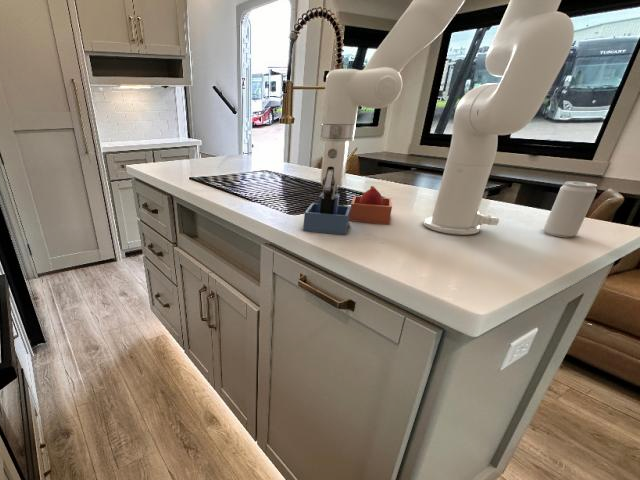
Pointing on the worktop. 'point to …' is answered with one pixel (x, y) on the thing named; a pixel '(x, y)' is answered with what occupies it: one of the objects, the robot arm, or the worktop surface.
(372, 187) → the onion
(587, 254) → the worktop surface
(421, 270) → the worktop surface
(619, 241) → the worktop surface
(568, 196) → the beverage can
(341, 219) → the blue bin
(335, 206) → the blue block
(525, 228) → the worktop surface
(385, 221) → the terracotta bin
